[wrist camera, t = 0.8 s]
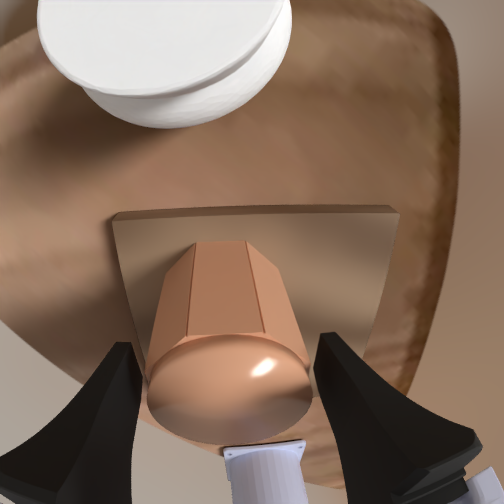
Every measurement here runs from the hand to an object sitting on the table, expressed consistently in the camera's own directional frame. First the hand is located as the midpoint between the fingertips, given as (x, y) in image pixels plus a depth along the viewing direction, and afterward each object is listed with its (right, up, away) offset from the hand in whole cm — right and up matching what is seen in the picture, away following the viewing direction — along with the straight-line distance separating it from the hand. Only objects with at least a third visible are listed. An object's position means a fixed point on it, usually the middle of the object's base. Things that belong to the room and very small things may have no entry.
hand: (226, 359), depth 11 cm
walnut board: (+1, 0, +7) cm, 7 cm away
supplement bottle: (-2, +12, 0) cm, 13 cm away
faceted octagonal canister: (-1, +2, +4) cm, 5 cm away
